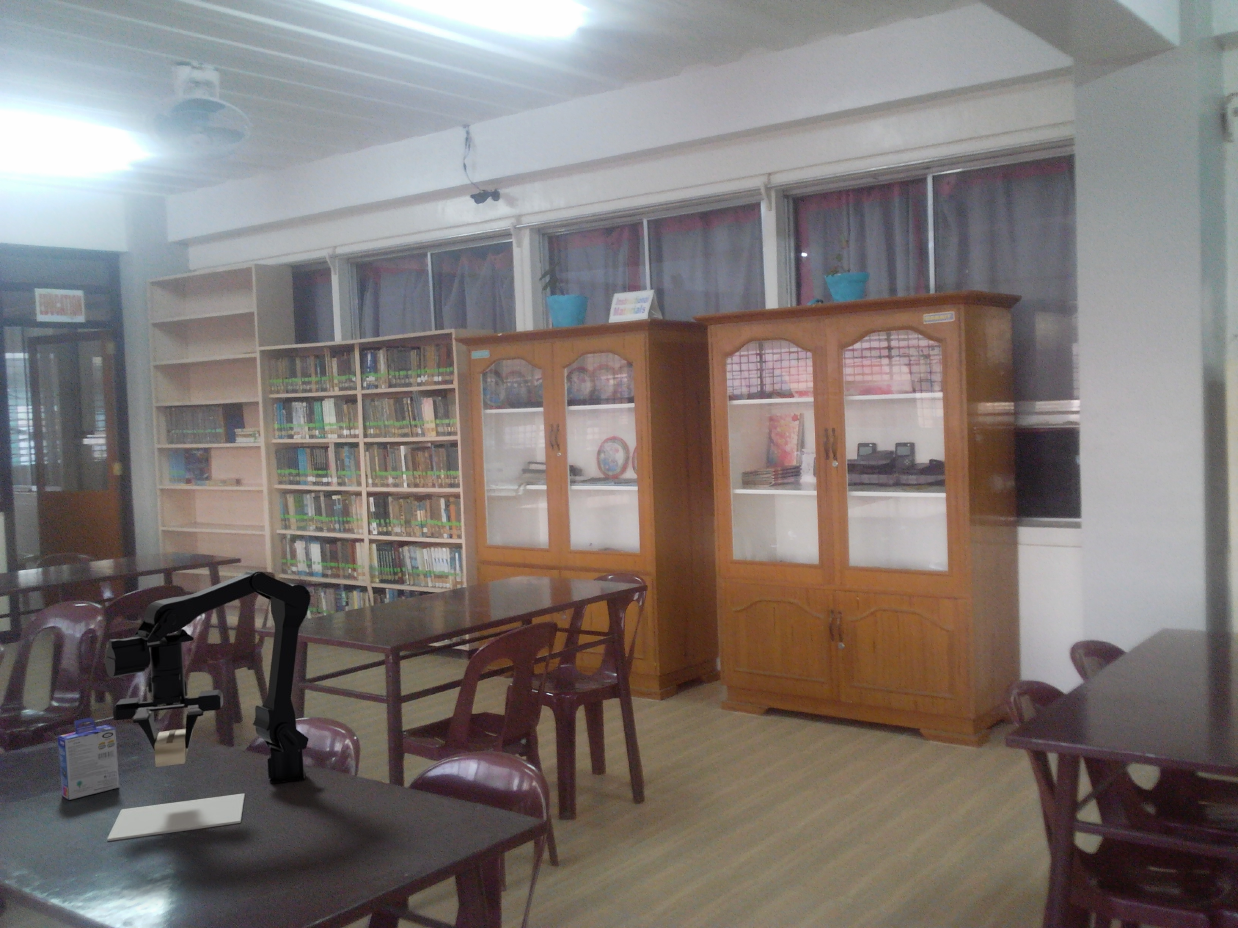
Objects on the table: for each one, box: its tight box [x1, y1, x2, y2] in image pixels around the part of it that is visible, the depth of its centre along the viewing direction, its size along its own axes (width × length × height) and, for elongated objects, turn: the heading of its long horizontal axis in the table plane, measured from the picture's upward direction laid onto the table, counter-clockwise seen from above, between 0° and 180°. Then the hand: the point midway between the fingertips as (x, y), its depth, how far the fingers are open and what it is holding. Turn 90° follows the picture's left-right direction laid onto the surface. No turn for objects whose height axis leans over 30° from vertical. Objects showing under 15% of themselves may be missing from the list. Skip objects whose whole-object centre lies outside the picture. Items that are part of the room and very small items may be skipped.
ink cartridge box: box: [57, 717, 120, 801], centre depth 217 cm, size 10×6×14 cm, turn 135°
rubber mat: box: [106, 793, 246, 842], centre depth 199 cm, size 22×16×1 cm
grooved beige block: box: [154, 728, 189, 768], centre depth 204 cm, size 10×5×4 cm, turn 19°
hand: (171, 749), depth 204 cm, fingers closed on grooved beige block, 5 cm apart
